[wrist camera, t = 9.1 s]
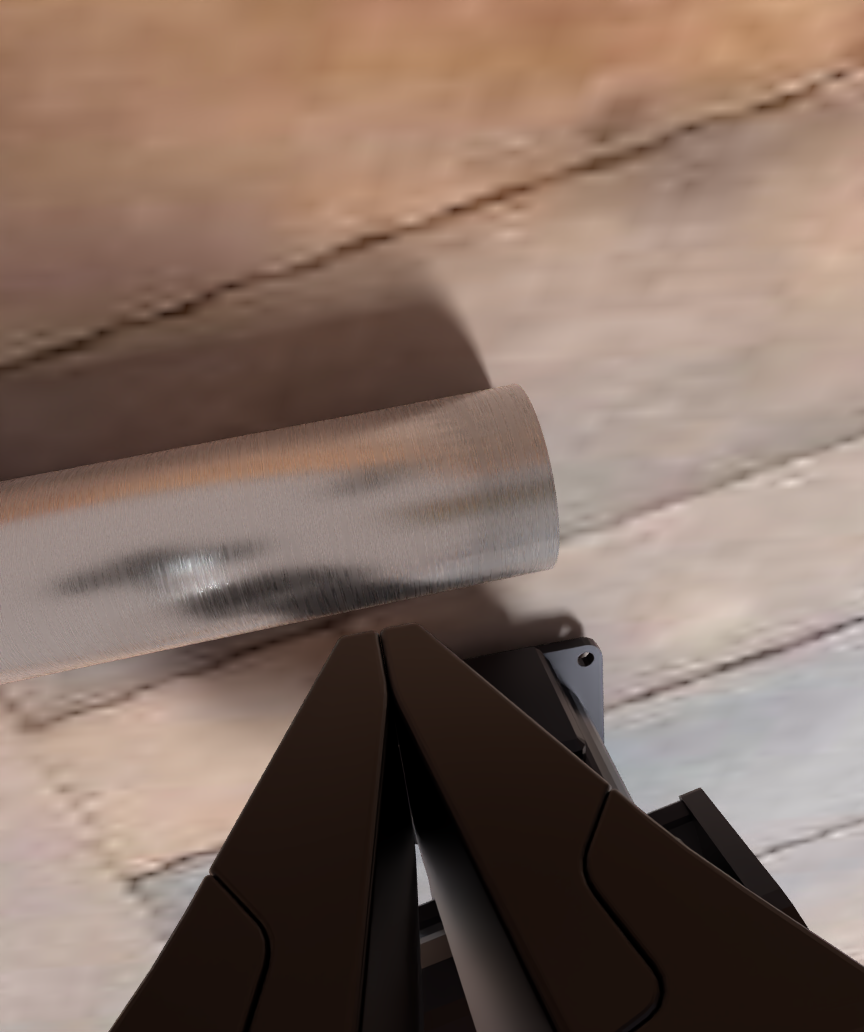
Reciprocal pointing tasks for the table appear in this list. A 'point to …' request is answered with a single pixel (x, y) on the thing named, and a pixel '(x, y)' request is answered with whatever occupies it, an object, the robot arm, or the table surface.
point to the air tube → (271, 529)
